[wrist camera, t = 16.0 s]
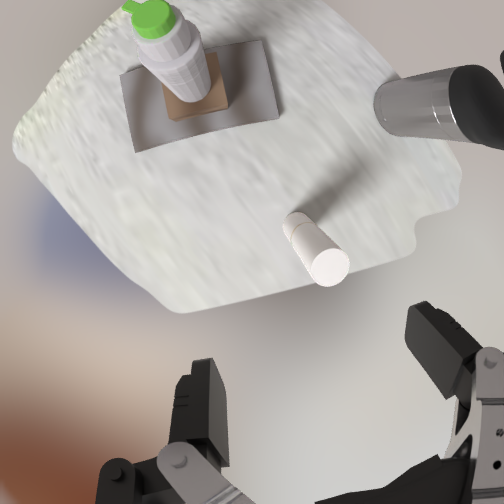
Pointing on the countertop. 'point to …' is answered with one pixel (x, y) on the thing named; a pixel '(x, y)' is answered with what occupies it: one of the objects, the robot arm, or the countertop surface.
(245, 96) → the pedestal stand
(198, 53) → the bottle
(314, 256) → the tube
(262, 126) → the countertop surface
